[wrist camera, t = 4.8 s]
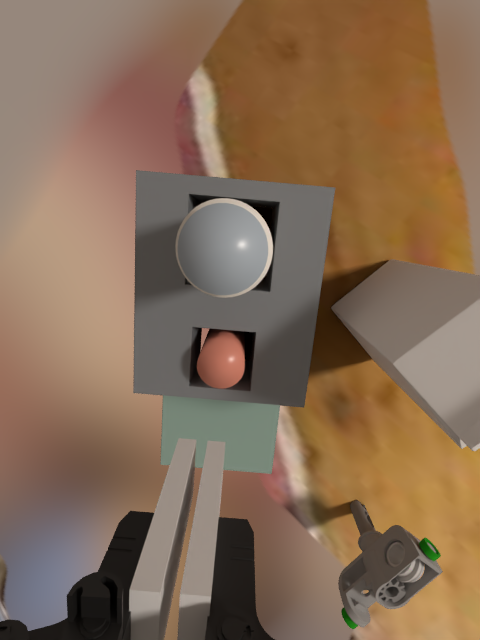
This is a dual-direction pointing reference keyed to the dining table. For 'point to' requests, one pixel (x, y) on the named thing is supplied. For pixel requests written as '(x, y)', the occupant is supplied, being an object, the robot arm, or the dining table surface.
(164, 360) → the housing
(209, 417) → the mat
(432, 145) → the dining table surface
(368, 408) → the dining table surface
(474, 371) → the milk carton
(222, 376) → the pink egg shape
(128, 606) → the robot arm
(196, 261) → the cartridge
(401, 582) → the mechanical component
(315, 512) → the dining table surface
